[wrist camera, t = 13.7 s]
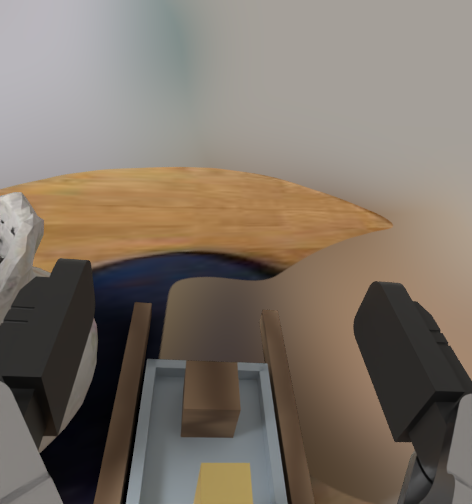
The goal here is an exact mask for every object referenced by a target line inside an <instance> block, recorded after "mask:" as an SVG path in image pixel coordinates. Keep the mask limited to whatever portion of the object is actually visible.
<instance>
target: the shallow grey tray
mask: <svg viewBox="0 0 472 504" xmlns="http://www.w3.org/2000/svg"><path fill="white" fill-rule="evenodd" d="M237 365H238V379H239V392H240V406H241V411H240V415H239V418H238V422H237V425H236V429H235V433H234V436H233V438H200V437H181V421H182V403H183V387H184V377H185V368H186V360H162V359H147V364H146V371H145V377H144V384H143V391H142V398H141V405H140V411H139V418H138V425H137V432H136V438H135V445H134V452H133V459H132V466H131V472H130V479H129V486H128V493H127V500H126V504H288V503H287V496H286V489H285V482H284V475H283V468H282V461H281V454H280V447H279V441H278V434H277V427H276V420H275V413H274V406H273V399H272V392H271V385H270V378H269V371H268V364H267V363H241V362H237Z"/></svg>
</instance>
